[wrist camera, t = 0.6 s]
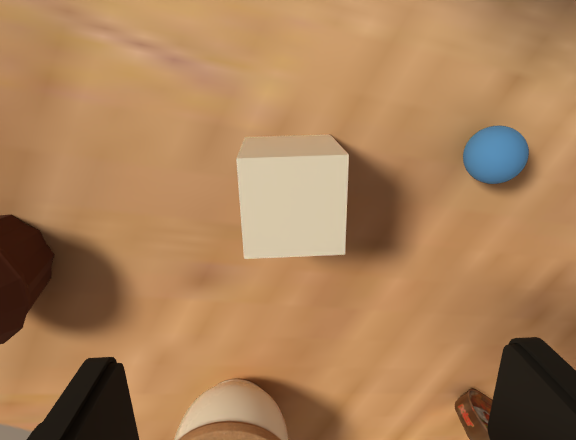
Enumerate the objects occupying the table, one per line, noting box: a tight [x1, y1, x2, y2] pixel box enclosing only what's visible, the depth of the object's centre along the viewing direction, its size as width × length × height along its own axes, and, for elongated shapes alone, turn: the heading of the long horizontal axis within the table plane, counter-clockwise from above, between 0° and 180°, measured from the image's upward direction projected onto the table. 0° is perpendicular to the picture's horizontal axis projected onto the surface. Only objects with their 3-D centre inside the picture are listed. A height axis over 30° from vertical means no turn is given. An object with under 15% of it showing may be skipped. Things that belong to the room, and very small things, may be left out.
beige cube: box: [236, 134, 349, 259], centre depth 31 cm, size 8×8×9 cm
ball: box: [463, 126, 529, 184], centre depth 32 cm, size 5×5×5 cm
